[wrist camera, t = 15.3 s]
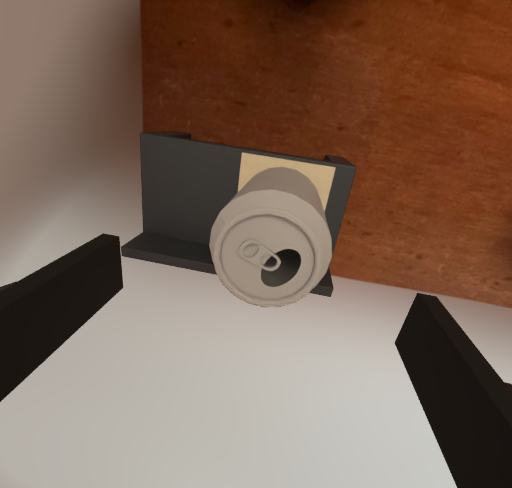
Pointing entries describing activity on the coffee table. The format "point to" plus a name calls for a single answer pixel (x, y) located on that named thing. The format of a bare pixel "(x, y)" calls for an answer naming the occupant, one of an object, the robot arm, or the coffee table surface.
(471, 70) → the coffee table surface
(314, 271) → the can
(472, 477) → the robot arm
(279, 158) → the shelf
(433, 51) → the coffee table surface
